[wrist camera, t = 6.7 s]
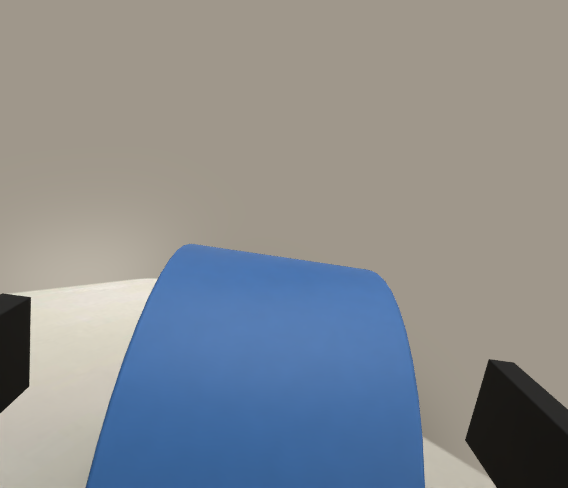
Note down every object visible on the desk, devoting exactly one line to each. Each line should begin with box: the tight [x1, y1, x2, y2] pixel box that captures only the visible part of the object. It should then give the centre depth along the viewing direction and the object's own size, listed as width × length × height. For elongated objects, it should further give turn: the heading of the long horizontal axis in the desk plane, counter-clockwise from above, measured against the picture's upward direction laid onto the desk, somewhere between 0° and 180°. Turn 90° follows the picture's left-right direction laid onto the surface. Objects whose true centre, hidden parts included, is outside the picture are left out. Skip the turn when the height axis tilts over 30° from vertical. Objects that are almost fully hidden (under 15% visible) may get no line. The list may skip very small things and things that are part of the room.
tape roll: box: [86, 244, 425, 488], centre depth 10 cm, size 10×5×10 cm, turn 1°
